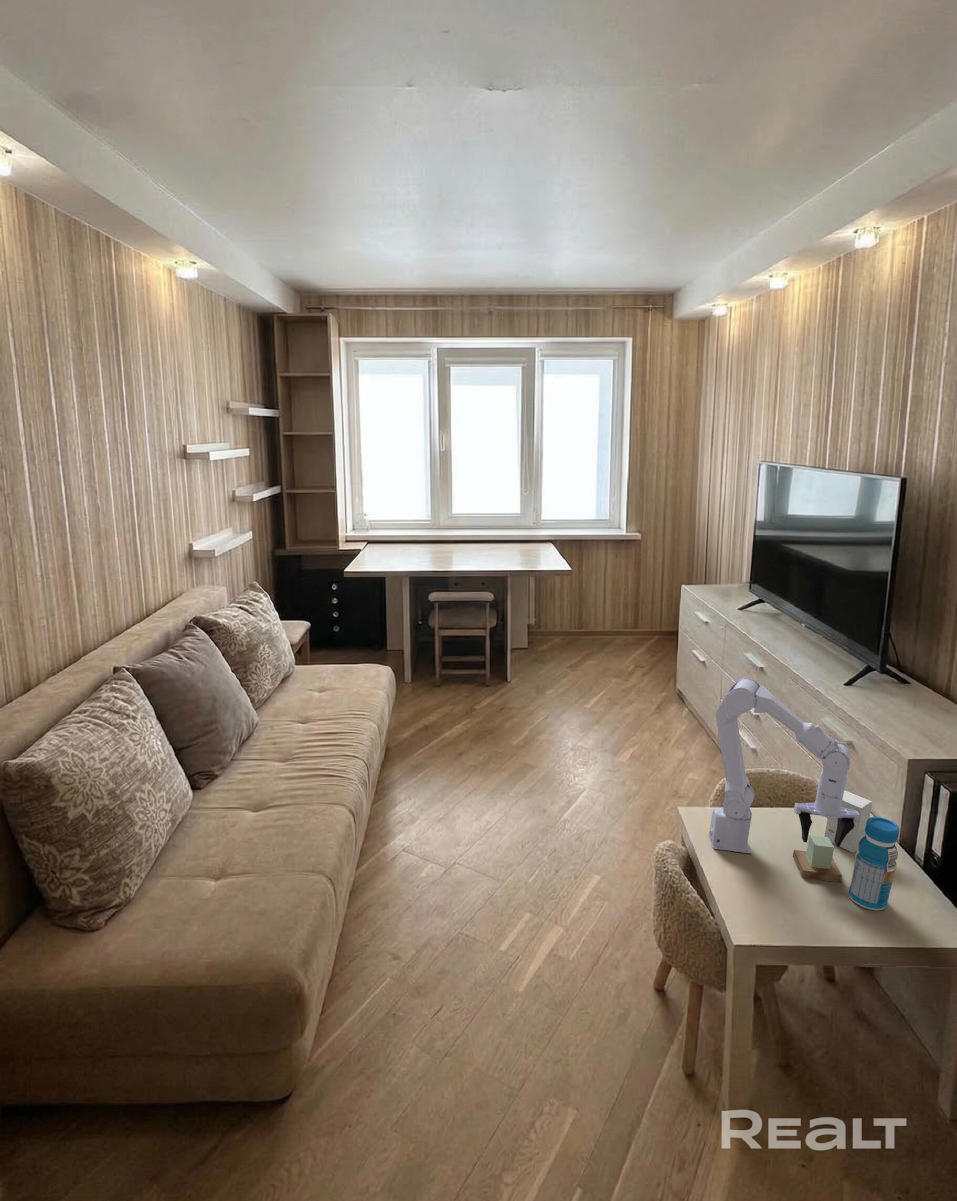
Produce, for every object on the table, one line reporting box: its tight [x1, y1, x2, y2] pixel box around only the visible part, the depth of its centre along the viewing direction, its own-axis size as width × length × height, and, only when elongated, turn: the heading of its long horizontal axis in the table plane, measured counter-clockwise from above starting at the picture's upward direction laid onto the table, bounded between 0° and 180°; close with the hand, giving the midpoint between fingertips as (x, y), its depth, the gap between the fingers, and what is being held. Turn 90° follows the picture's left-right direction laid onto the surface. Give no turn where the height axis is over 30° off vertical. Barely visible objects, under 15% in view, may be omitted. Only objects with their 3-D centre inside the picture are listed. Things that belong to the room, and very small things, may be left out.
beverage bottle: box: [848, 816, 900, 911], centre depth 175 cm, size 8×8×20 cm
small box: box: [823, 790, 873, 853], centre depth 200 cm, size 8×6×13 cm
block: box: [805, 835, 835, 869], centre depth 187 cm, size 4×4×6 cm
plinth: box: [792, 849, 843, 883], centre depth 188 cm, size 9×9×2 cm
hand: (820, 842), depth 187 cm, fingers open, 7 cm apart
